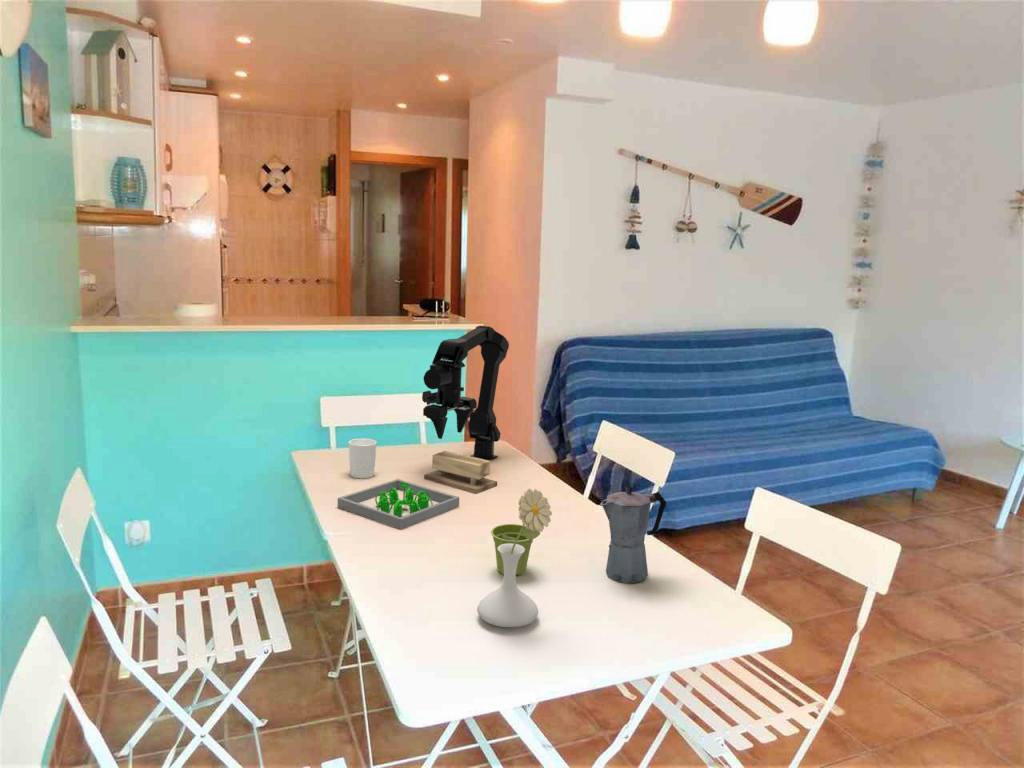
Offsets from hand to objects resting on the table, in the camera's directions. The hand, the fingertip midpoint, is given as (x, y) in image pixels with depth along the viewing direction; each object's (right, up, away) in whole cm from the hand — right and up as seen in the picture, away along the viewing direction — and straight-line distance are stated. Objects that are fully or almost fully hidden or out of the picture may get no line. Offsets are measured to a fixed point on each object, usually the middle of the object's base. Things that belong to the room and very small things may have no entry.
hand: (449, 435), depth 225 cm
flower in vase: (+18, -29, -83) cm, 90 cm away
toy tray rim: (-11, -17, -28) cm, 34 cm away
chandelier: (-9, -17, -29) cm, 36 cm away
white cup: (-25, -11, -4) cm, 28 cm away
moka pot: (+43, -26, -61) cm, 79 cm away
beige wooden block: (+4, -10, -6) cm, 12 cm away
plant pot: (+18, -25, -62) cm, 70 cm away
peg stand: (+3, -13, -5) cm, 15 cm away
